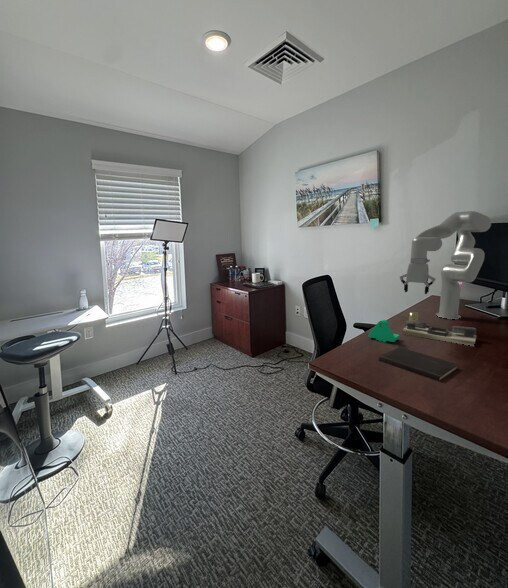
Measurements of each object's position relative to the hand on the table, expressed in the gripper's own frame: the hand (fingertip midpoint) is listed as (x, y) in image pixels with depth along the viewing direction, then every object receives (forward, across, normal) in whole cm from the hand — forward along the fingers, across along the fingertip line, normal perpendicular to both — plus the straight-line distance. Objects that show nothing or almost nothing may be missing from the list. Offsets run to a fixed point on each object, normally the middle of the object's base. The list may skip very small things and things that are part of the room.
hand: (415, 292), depth 164 cm
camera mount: (+19, +6, +32) cm, 38 cm away
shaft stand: (+18, -14, +14) cm, 27 cm away
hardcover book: (+19, -12, +54) cm, 58 cm away
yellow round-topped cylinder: (+18, 0, 0) cm, 18 cm away
